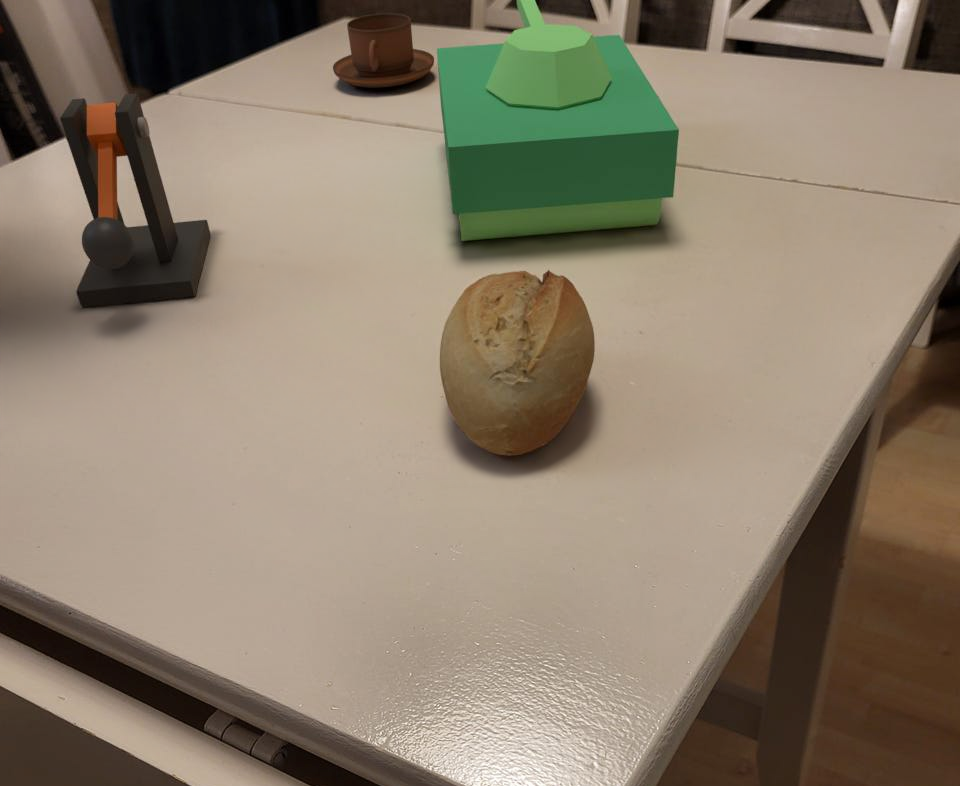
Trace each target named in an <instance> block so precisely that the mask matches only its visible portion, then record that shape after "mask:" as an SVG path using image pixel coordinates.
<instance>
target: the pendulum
mask: <svg viewBox="0 0 960 786" xmlns="http://www.w3.org/2000/svg"><path fill="white" fill-rule="evenodd" d="M118 106H119V105H118V104H117V102H106V103H105V102H104V103H94V104H87V137H88V139H89V141H90V143H91V144H92V146H93V148H94V150H95V152H96V154H97V156H98V218H96V219H92V220H90V221H89V222H88V223H87V224H86V225H85V227H84V229H83V231H82V233H81V246H82V249H83V252H84V254H85V255H86V257H87V258H88V259H89V261H90V260H91V261H92V262H93V263H94V264H96V265H97V266H99V267H102V268H105V269H117V268H120V267H123V266H124V265H126V264H127V263H128V262H129V261H130V259H131V257H132V255H133V252H134V240H133V237H132V235H131V233H130V231H129V229H128V228H127V227H128V226H126V225H124V224H125V223H124V224H123V223H122V222H120V221H118V218H117V202H118V157H128V156H127V153H126V150H125V146H124V143H123V140H122V136H121V133H120V130H119V126H118V123H117V120H116V116H115V111H116V109H117V108H118Z"/></svg>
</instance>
